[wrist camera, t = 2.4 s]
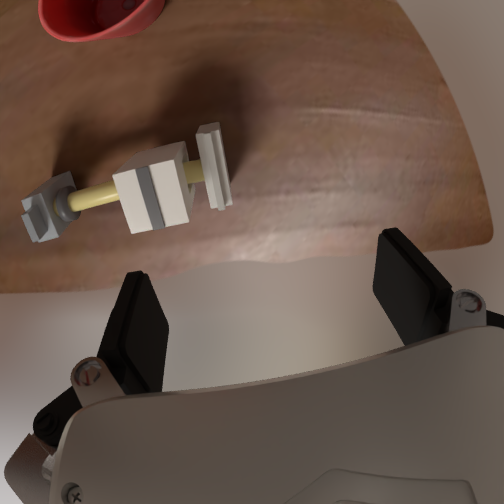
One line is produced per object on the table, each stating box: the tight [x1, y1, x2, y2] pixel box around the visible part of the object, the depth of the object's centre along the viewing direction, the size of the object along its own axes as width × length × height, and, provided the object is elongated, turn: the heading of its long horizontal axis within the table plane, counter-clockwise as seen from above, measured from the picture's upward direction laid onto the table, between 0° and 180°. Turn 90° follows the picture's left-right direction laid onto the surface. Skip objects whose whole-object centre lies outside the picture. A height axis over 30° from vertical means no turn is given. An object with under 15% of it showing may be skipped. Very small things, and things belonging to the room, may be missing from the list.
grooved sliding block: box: [112, 141, 196, 234], centre depth 25 cm, size 5×5×8 cm
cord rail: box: [21, 122, 233, 242], centre depth 26 cm, size 21×7×9 cm, turn 98°
